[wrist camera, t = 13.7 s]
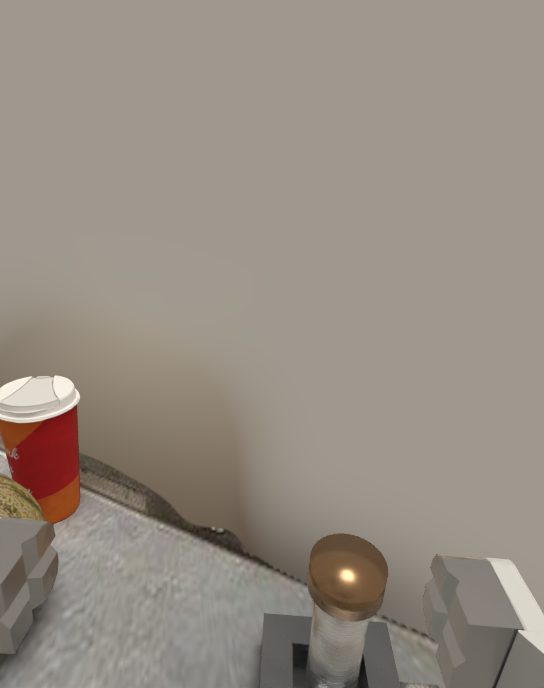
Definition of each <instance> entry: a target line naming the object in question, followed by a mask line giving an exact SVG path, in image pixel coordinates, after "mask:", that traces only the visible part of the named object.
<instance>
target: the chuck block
mask: <svg viewBox="0 0 544 688" xmlns="http://www.w3.org/2000/svg"><path fill="white" fill-rule="evenodd" d="M311 625H312V617H305V616H291V615H278V614H265V613H264V622H263V636H262V650H261V668H260V685H259V688H304V682H305V674H306V666H307V658H308V650H309V641H310V633H311ZM356 688H439V686H438V685H433V684H420V683H407V682H399V678H398V674H397V669H396V665H395V660H394V656H393V651H392V647H391V642H390V637H389V633H388V628H387V624H386V623H383V622H370V621H369V622H368V628H367V633H366V638H365V644H364V649H363V655H362V660H361V665H360V671H359V676H358V682H357V687H356Z"/></svg>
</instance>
